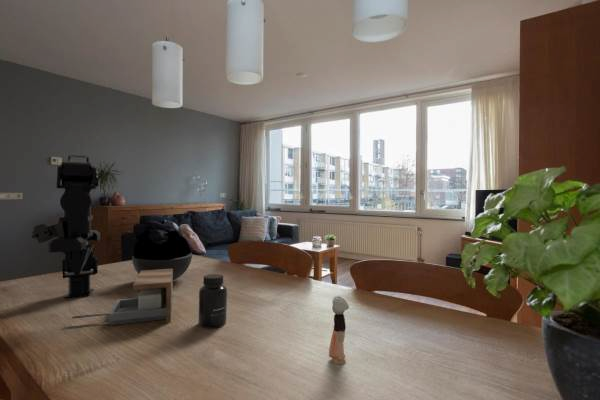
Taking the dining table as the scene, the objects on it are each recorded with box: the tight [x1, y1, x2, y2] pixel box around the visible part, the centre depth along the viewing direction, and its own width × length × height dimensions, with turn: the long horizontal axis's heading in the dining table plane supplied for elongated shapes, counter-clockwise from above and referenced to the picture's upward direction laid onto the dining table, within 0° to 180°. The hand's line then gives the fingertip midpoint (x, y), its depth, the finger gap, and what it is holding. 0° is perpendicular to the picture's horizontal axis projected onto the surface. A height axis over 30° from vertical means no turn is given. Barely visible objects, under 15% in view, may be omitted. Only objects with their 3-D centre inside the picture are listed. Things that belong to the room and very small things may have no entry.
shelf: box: [132, 269, 174, 324], centre depth 86 cm, size 15×8×10 cm, turn 20°
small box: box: [137, 288, 163, 310], centre depth 85 cm, size 6×6×5 cm
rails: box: [61, 312, 110, 330], centre depth 83 cm, size 8×23×1 cm, turn 110°
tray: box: [108, 295, 166, 326], centre depth 85 cm, size 11×13×3 cm
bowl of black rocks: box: [131, 229, 193, 281], centre depth 115 cm, size 20×20×19 cm
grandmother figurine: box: [328, 295, 350, 365], centre depth 63 cm, size 8×4×13 cm, turn 5°
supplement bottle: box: [198, 273, 228, 329], centre depth 80 cm, size 7×7×12 cm
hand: (77, 274), depth 80 cm, fingers closed
